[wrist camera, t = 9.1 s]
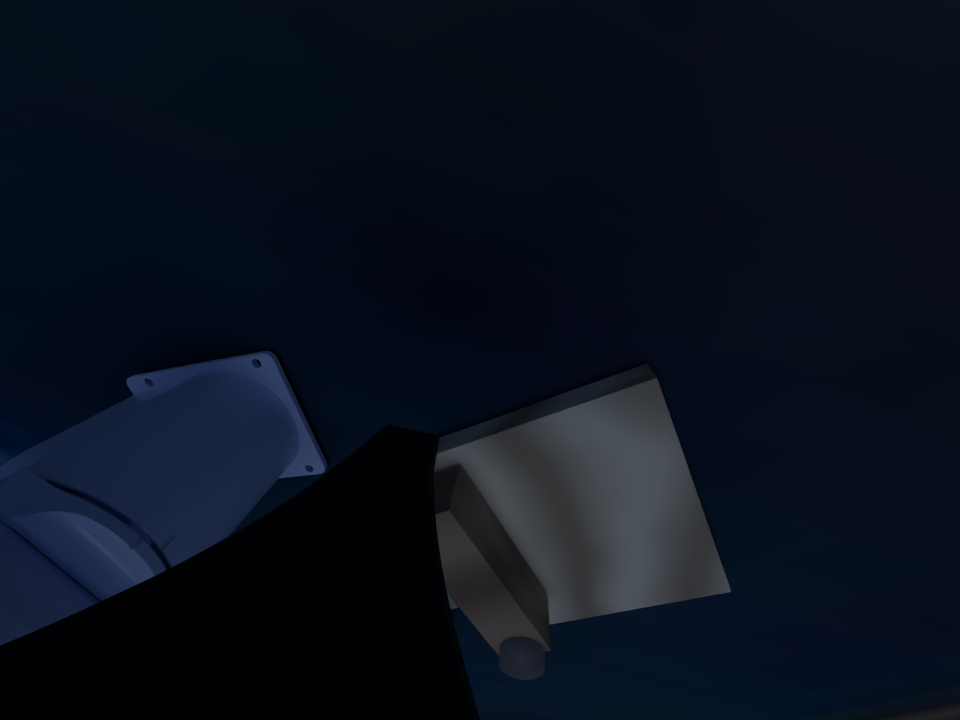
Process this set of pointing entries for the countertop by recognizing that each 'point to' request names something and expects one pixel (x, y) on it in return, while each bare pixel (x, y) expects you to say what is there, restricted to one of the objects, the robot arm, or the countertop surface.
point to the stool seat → (594, 497)
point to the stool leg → (490, 577)
